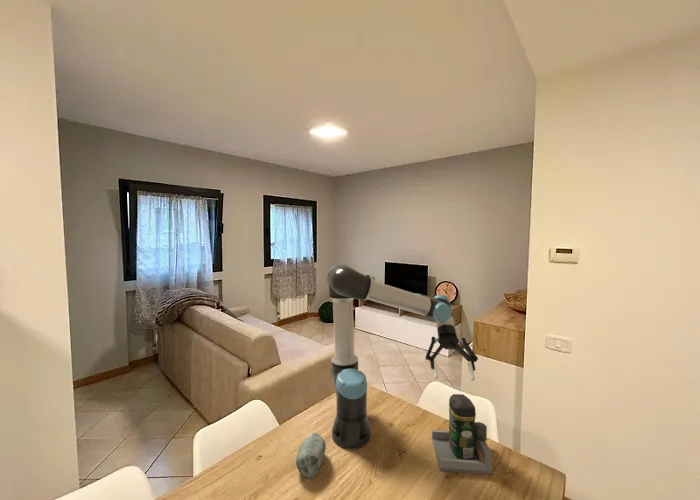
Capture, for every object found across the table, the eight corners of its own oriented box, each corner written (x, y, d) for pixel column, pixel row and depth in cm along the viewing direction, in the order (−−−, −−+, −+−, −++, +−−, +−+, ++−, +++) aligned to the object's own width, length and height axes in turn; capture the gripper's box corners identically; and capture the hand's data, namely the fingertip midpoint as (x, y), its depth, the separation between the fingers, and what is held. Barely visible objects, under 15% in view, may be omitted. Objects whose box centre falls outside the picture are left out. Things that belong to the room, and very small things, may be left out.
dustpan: (440, 470, 92) (440, 437, 91) (431, 438, 107) (431, 410, 106) (494, 475, 90) (495, 441, 90) (478, 442, 105) (478, 413, 105)
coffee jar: (445, 440, 104) (446, 391, 104) (467, 441, 104) (468, 391, 103) (454, 461, 95) (455, 406, 94) (478, 461, 94) (479, 407, 94)
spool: (322, 476, 85) (310, 441, 88) (295, 487, 87) (285, 452, 90) (335, 455, 98) (325, 425, 101) (312, 465, 99) (302, 434, 102)
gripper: (473, 333, 124) (485, 383, 110) (416, 331, 127) (420, 380, 112) (477, 324, 119) (491, 376, 104) (417, 322, 121) (422, 373, 107)
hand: (454, 378), depth 108 cm, fingers open, 13 cm apart
